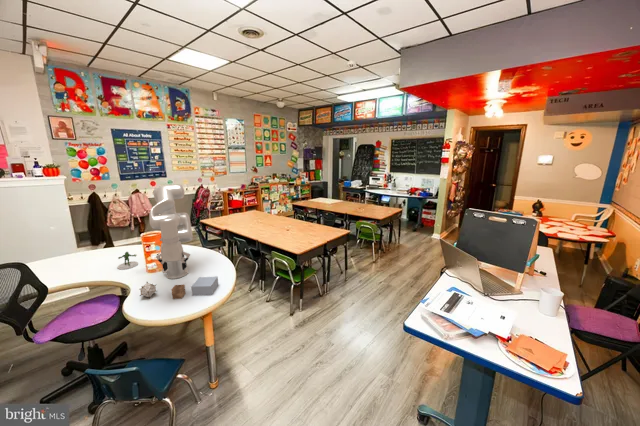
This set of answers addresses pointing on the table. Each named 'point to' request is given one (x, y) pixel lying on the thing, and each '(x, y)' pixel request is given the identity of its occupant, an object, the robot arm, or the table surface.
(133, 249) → the table surface
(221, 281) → the table surface
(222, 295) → the table surface
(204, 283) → the slate base
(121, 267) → the monster figurine
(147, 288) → the game die
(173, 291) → the copper block
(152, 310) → the table surface
